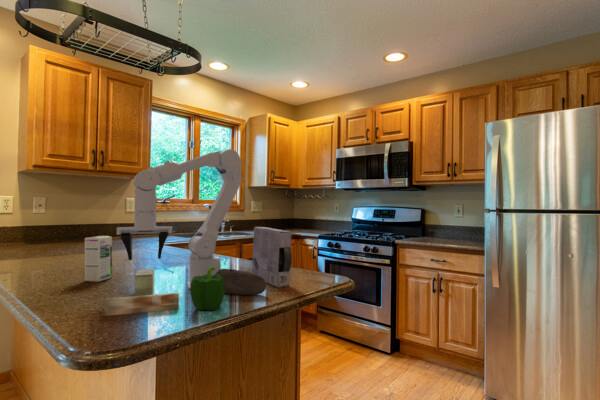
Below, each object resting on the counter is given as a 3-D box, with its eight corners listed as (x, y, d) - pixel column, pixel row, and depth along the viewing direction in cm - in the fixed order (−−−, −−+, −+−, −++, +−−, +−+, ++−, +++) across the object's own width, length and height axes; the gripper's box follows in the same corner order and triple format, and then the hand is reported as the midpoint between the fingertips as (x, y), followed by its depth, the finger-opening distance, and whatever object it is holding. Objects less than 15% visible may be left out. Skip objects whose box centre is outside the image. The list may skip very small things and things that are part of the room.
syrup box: (99, 281, 110) (99, 237, 110) (84, 281, 111) (84, 237, 111) (112, 278, 116) (112, 235, 116) (97, 277, 117) (98, 235, 117)
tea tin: (137, 290, 100) (137, 269, 100) (154, 288, 102) (154, 268, 102) (134, 297, 93) (134, 275, 93) (152, 295, 94) (153, 274, 94)
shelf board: (178, 296, 93) (178, 283, 93) (178, 308, 83) (178, 293, 83) (112, 302, 87) (112, 288, 87) (104, 316, 77) (104, 300, 77)
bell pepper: (207, 316, 78) (207, 272, 78) (183, 309, 82) (184, 268, 82) (232, 306, 85) (233, 266, 85) (209, 301, 89) (210, 263, 89)
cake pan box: (292, 286, 105) (293, 230, 105) (279, 288, 102) (279, 230, 102) (263, 275, 121) (264, 226, 121) (251, 277, 118) (251, 226, 118)
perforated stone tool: (269, 293, 97) (269, 269, 97) (262, 299, 92) (262, 273, 92) (222, 290, 101) (222, 266, 101) (213, 294, 96) (213, 270, 96)
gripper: (172, 211, 104) (171, 255, 104) (119, 211, 99) (119, 257, 99) (172, 212, 97) (171, 259, 97) (115, 212, 92) (115, 261, 92)
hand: (145, 258), depth 97 cm, fingers open, 7 cm apart
